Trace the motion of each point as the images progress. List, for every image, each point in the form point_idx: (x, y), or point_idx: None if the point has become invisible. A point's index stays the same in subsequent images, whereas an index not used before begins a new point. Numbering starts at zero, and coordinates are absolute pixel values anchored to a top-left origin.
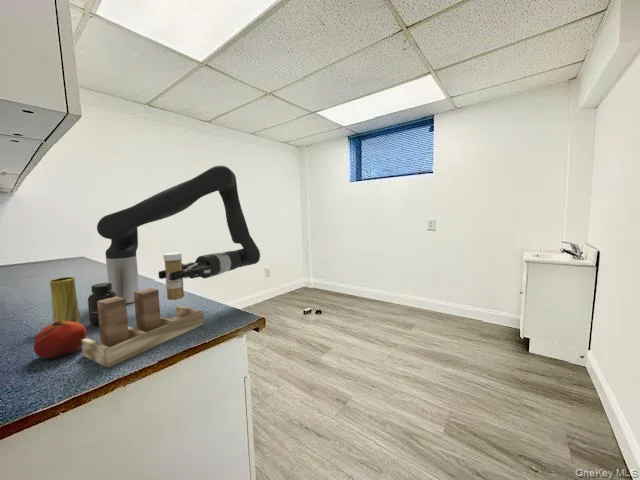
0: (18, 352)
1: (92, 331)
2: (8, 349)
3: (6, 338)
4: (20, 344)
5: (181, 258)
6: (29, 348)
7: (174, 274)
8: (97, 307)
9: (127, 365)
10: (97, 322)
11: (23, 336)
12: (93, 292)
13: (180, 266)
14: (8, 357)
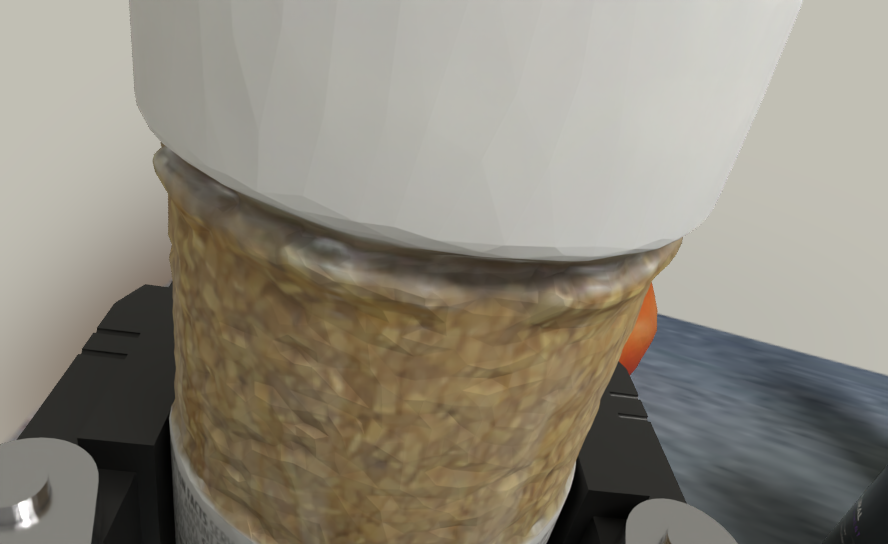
0: (685, 336)
1: (743, 512)
2: (742, 340)
3: (881, 374)
4: (771, 364)
5: (156, 120)
6: (701, 356)
7: (143, 286)
8: (881, 473)
9: None
10: (825, 540)
11: (870, 396)
12: None
13: (178, 349)
14: (660, 317)
